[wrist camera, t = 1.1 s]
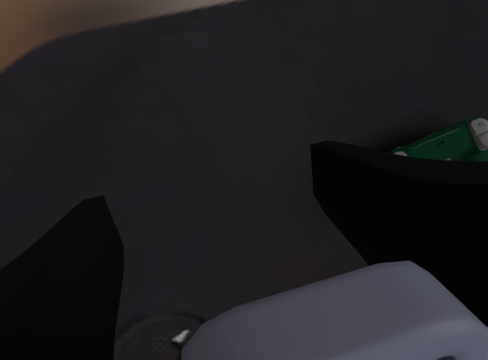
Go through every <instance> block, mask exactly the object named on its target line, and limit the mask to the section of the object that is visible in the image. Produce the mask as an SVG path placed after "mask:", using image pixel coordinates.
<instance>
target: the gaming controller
mask: <svg viewBox="0 0 488 360" xmlns="http://www.w3.org/2000/svg"><path fill="white" fill-rule="evenodd" d="M387 153H392V154H398V155H403V156H410V157H417V158H427V159H436V160H451V161H488V121H487V120H485V119H484V118H482V117H480V116H476V117H472V118H469V119H466V120H464V121H460V122H458V123H456V124H454V125H452V126H450V127H447V128H445V129H442V130H440V131H438V132H435V133H433V134H430V135H428V136H426V137H423V138H421V139H418V140H416V141H413V142H411V143H409V144H406V145H404V146H401V147H398V148H396V149H395V150H393V151H391V152H390V151H389V152H387Z"/></svg>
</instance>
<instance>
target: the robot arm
mask: <svg viewBox="0 0 488 360" xmlns="http://www.w3.org/2000/svg"><path fill="white" fill-rule="evenodd" d="M310 146H311V161H312V176H313V191H314V195H315V197H316V199H317V201H318V202H319V204H320V206H321V207H322V209H323V210H324V212H325V214H326V215H327V216H328V217H329V219H330V220H331V221H332V222H333V223H334V225H335V226H336V227H337V228H338V229H339V230H340V232H341V233H342V234H343V235H344V236H345V237H346V239H347V240H348V241H349V242H350V243H351V244H352V246H353V247H354V248H355V249H356V250H357V251H358V252H359V254H360V255H361V256H362V257H363V259H364V260H365V261H366V262H367V264H368V265H369V266H367V267H364V268H361V269H357V270H354V271H351V272H347V273H344V274H341V275H338V276H334V277H331V278H328V279H324V280H321V281H318V282H314V283H311V284H308V285H305V286H301V287H298V288H295V289H291V290H288V291H285V292H282V293H278V294H275V295H272V296H268V297H265V298H262V299H259V300H255V301H252V302H249V303H245V304H242V305H239V306H236V307H233V308H231V309H230V310H228V311H226V312H224V313H222V314H220V315H218V316H216V317H214V318H212V319H210V320H208V321H206V322H205V323H203V324H202V325H201V326H200V327H199V329H198V330H197V331H196V332H195V334H194V335H193V336H192V337H191V339H190V340H189V341H188V343H187V344H186V345H185V346H184V348H183V349H182V355H181V360H488V161H451V160H436V159H427V158H417V157H410V156H403V155H398V154H392V153H386V152H382V151H377V150H372V149H368V148H363V147H359V146H354V145H350V144H346V143H341V142H335V141H323V142H319V143H315V144H311V145H310ZM123 272H124V250H123V243H122V240H121V238H120V235H119V233H118V230H117V228H116V226H115V223H114V221H113V218H112V216H111V213H110V211H109V208H108V206H107V204H106V201H105V199H104V196H99V197H95V198H91V199H86V200H83V201H82V202H80V203H79V204H78V205H77V206H75V207H74V208H73V209H72V210H71V211H70V212H69V213H68V214H67V215H65V216H64V217H63V218H62V219H61V220H60V221H59V222H58V223H57V224H56V225H55V226H53V227H52V228H51V229H50V230H49V231H48V232H47V233H46V234H45V235H43V236H42V237H41V238H40V239H39V240H37V241H36V242H35V243H34V244H33V245H32V246H30V247H29V248H28V249H27V250H26V251H24V252H23V253H22V254H21V255H20V256H18V257H17V258H16V259H14V260H13V261H12V262H10V263H9V264H8V265H6V266H5V267H4V268H2V269H1V270H0V360H114V339H115V329H116V322H117V315H118V308H119V301H120V294H121V287H122V280H123Z"/></svg>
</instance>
